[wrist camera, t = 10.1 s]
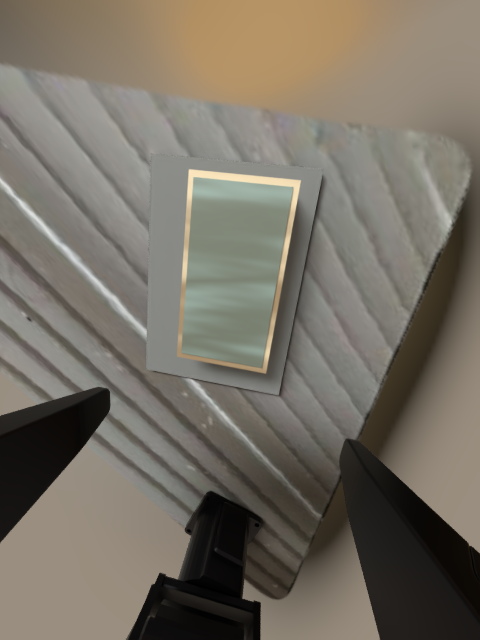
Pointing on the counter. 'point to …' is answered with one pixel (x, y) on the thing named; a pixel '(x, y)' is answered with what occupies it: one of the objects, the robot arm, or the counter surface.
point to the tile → (233, 266)
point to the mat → (168, 265)
